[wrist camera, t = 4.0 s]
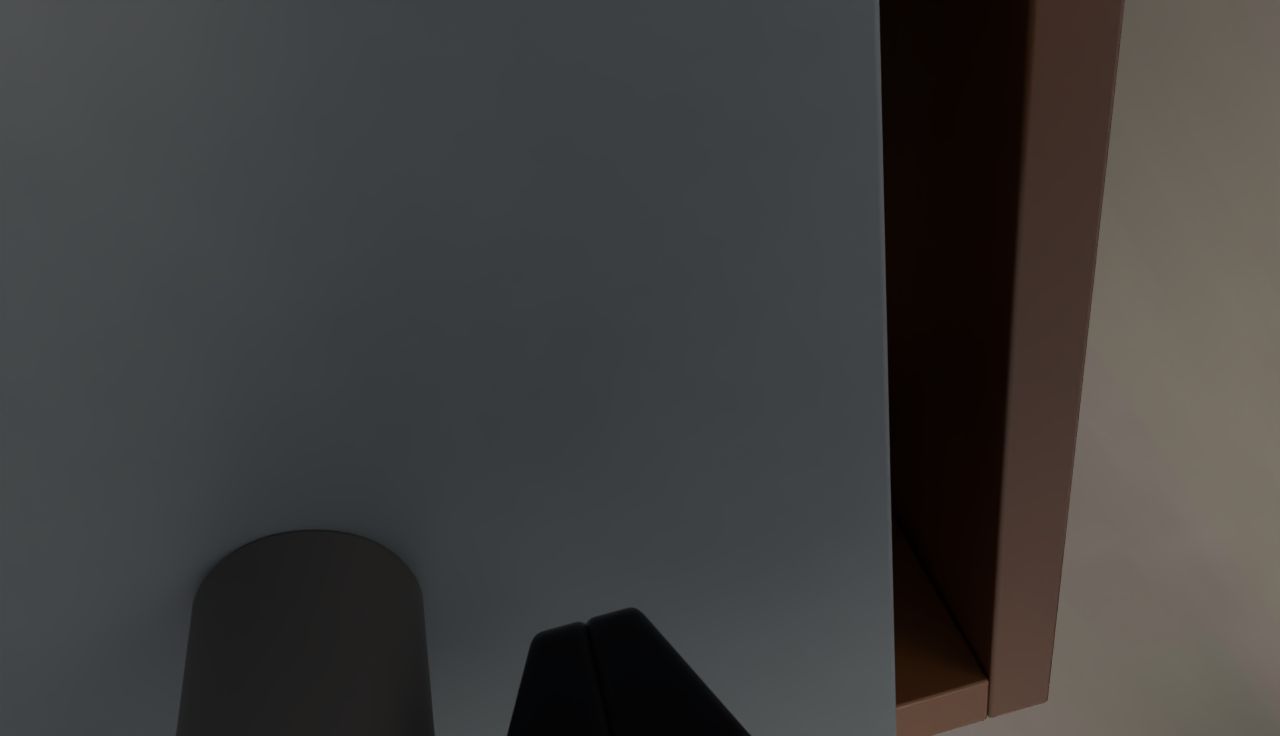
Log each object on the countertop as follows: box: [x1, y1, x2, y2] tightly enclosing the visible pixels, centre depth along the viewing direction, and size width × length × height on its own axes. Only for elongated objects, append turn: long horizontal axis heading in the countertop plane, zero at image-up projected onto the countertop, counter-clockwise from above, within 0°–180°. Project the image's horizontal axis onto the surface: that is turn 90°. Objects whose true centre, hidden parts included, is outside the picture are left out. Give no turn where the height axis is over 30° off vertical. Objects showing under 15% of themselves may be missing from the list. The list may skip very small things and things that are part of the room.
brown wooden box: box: [879, 0, 1125, 736], centre depth 13 cm, size 14×12×7 cm
